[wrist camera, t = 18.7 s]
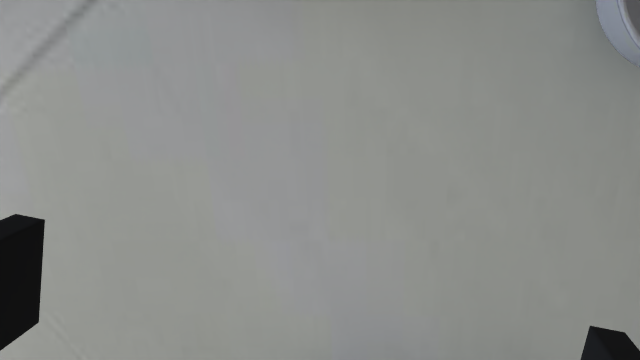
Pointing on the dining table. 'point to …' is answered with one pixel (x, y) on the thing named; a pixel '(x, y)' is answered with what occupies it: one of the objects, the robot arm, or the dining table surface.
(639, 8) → the teacup
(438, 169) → the dining table surface
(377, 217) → the dining table surface
